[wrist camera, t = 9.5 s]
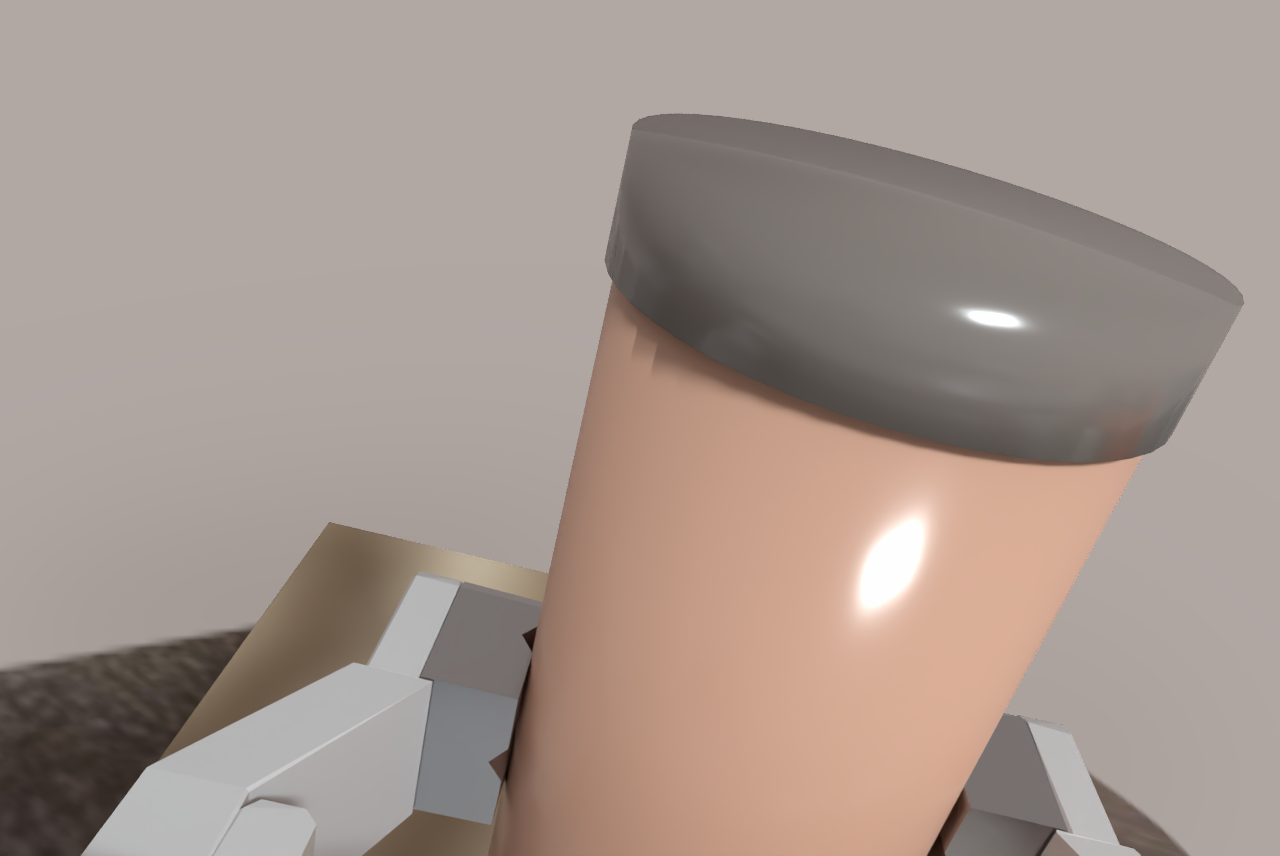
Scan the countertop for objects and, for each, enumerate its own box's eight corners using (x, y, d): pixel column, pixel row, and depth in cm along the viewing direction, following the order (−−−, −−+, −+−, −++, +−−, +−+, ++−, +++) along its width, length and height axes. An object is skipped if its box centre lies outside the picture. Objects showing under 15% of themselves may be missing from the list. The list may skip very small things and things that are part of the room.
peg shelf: (128, 1086, 24) (104, 836, 19) (315, 738, 35) (329, 521, 30) (650, 1204, 24) (752, 985, 20) (678, 821, 35) (748, 620, 30)
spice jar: (379, 1276, 11) (595, 187, 5) (473, 918, 15) (653, 90, 9) (759, 1355, 11) (1400, 383, 5) (749, 978, 15) (1098, 200, 9)
